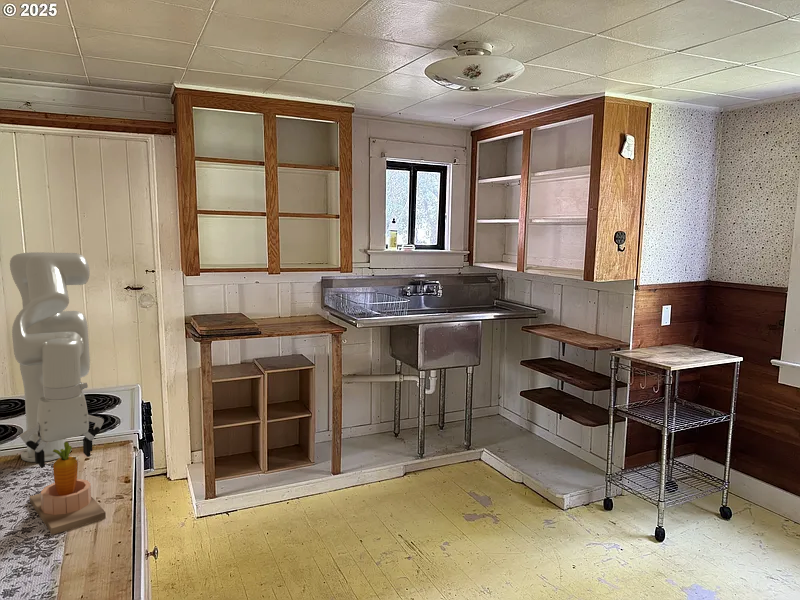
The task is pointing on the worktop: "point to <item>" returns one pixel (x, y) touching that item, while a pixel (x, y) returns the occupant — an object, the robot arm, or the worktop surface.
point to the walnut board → (68, 516)
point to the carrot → (65, 471)
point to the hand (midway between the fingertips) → (64, 460)
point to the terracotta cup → (65, 498)
